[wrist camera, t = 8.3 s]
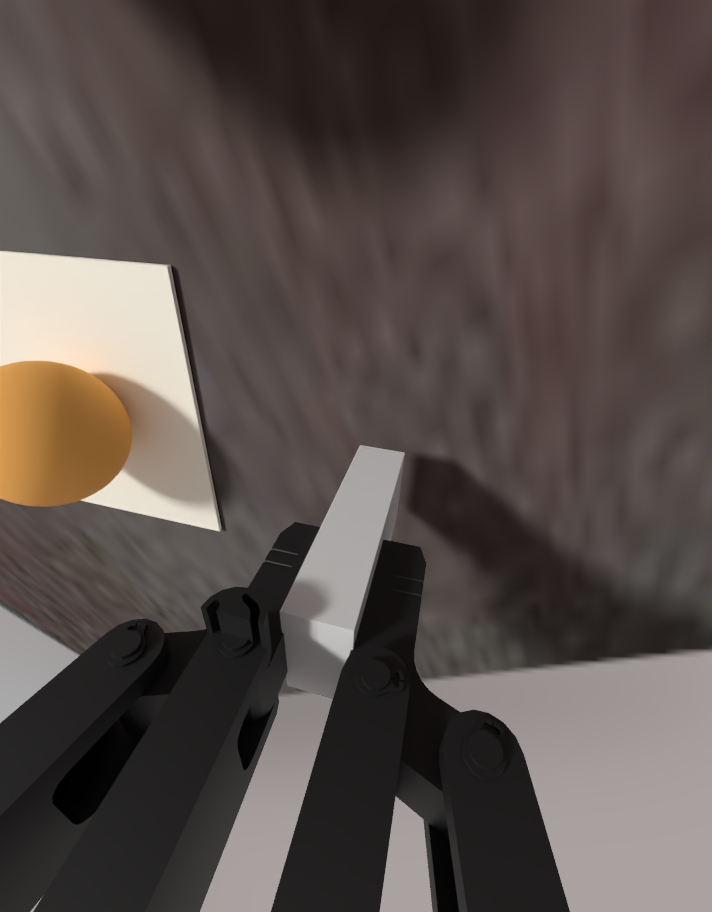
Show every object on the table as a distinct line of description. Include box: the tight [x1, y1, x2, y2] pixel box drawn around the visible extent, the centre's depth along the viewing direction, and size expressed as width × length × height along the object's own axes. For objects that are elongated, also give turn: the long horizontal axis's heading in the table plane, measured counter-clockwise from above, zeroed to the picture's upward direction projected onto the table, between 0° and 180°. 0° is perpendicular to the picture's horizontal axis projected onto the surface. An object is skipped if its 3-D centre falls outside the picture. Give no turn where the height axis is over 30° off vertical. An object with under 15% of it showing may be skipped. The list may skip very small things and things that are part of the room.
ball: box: [0, 361, 132, 506], centre depth 15 cm, size 6×6×6 cm
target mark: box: [0, 251, 222, 531], centre depth 18 cm, size 12×12×1 cm
